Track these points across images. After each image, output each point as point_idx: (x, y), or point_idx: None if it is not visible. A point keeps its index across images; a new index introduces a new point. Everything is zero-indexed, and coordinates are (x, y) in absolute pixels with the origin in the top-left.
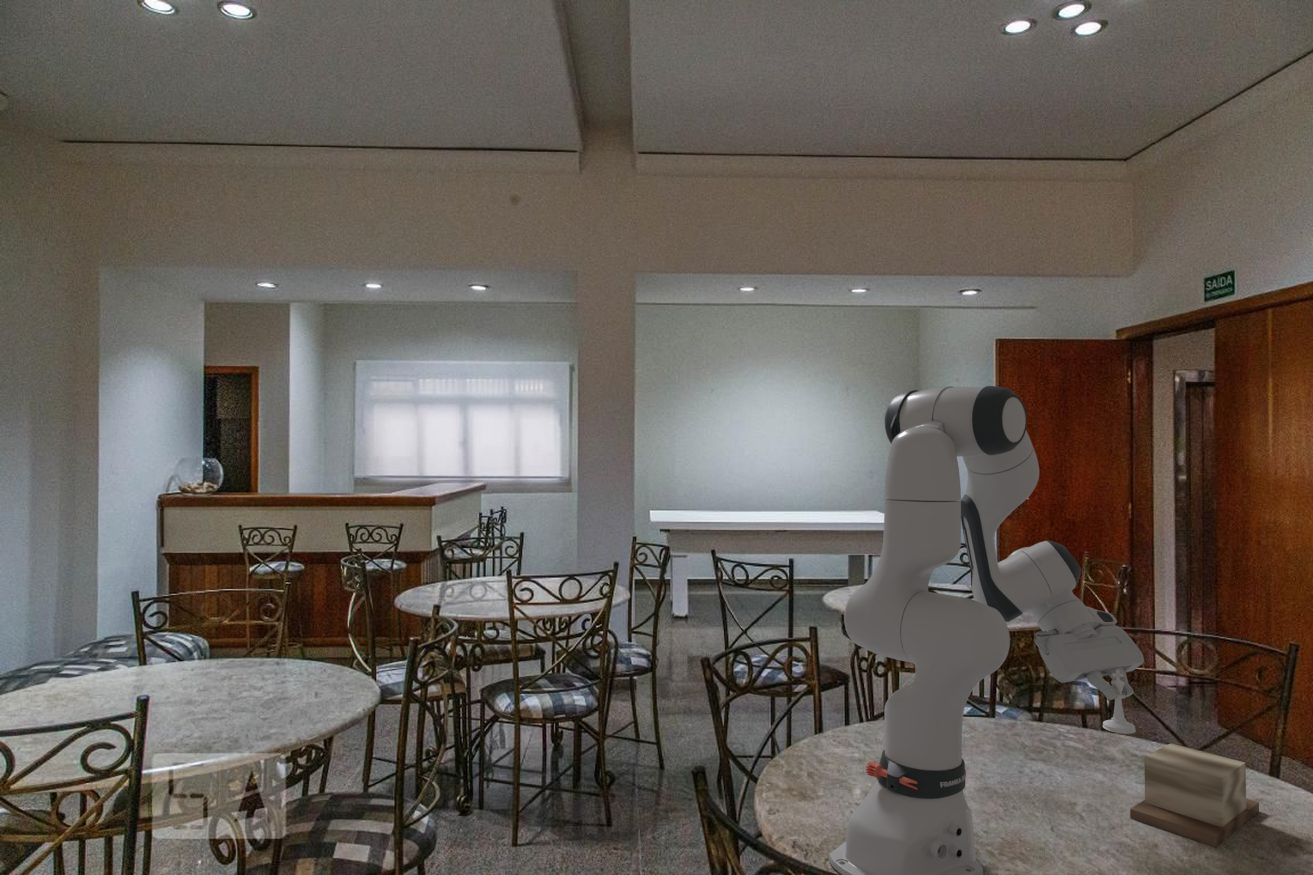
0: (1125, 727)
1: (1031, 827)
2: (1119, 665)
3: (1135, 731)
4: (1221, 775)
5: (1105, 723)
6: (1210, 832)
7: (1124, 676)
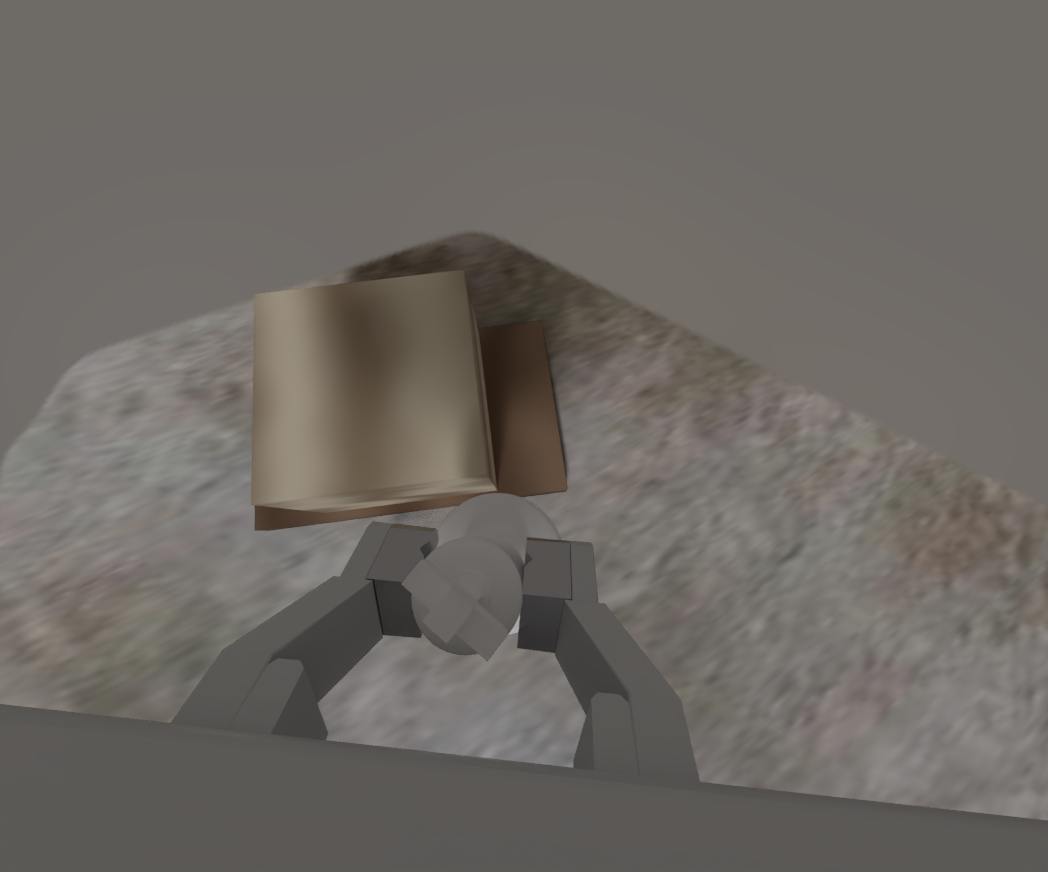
0: (525, 513)
1: (834, 583)
2: (214, 728)
3: (477, 496)
4: (433, 282)
5: None
6: (529, 335)
7: (297, 625)
